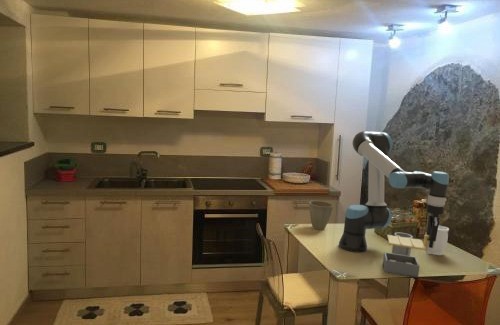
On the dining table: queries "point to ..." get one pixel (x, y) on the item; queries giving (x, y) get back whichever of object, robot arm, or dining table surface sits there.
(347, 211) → the robot arm
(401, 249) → the cup
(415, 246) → the lid
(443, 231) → the jar
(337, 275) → the dining table surface
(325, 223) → the plant pot
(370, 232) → the dining table surface
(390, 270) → the tub
